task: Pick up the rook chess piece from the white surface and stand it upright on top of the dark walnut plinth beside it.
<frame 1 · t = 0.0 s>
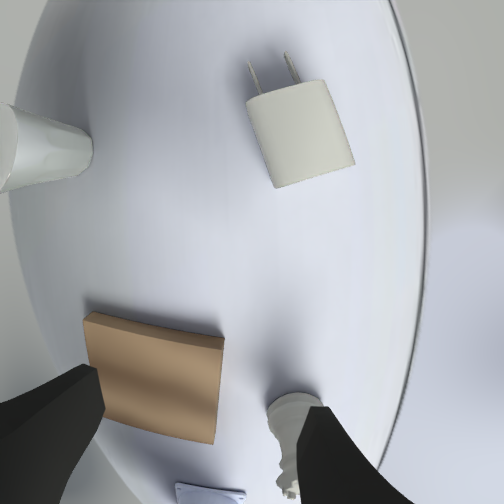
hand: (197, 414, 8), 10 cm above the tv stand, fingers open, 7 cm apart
walnut plinth: (155, 380, 20), on the tv stand
usb wall charger: (286, 121, 16), on the tv stand
rook chess piece: (294, 407, 21), on the tv stand
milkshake: (73, 156, 16), on the tv stand
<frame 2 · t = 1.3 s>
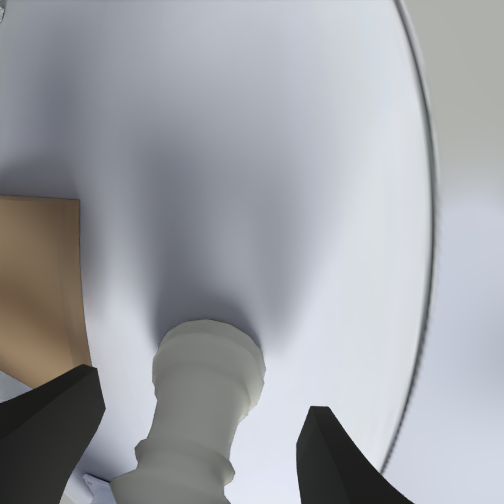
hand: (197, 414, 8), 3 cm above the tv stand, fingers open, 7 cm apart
walnut plinth: (14, 291, 11), on the tv stand
rook chess piece: (212, 358, 12), on the tv stand
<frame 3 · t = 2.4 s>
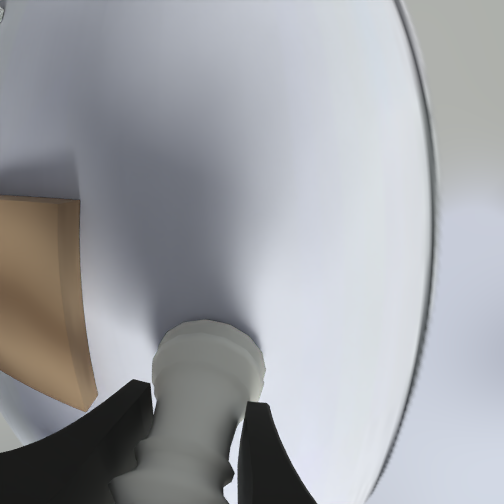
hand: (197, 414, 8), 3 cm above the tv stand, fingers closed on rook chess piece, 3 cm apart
walnut plinth: (14, 291, 11), on the tv stand
rook chess piece: (212, 358, 12), on the tv stand, touching gripper
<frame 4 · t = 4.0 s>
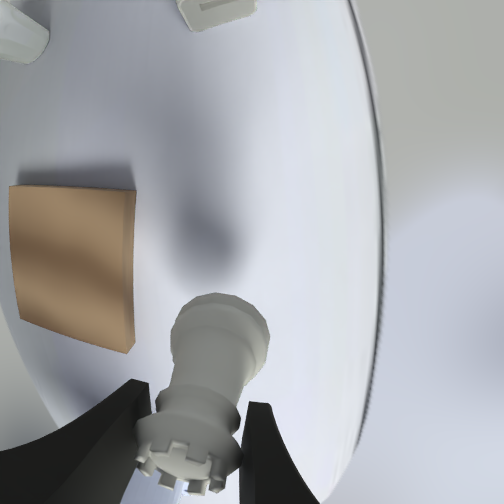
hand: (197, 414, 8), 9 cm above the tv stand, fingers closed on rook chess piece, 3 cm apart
walnut plinth: (69, 261, 17), on the tv stand
rook chess piece: (223, 329, 14), point 3 cm above the tv stand, touching gripper
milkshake: (33, 50, 13), on the tv stand
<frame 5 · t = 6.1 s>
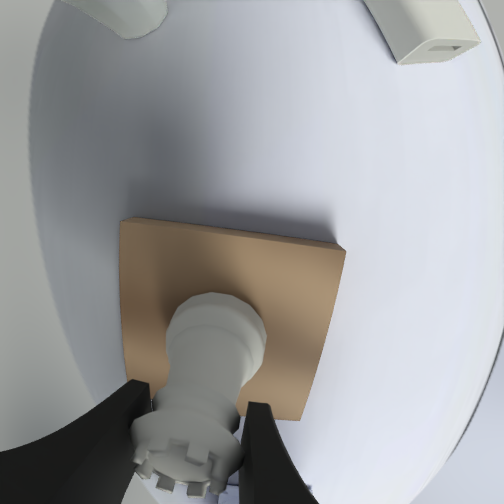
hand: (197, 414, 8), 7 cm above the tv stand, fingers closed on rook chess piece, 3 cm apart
walnut plinth: (222, 325, 15), on the tv stand
usb wall charger: (394, 14, 11), on the tv stand
rook chess piece: (219, 330, 13), point 1 cm above the tv stand, touching gripper, walnut plinth
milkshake: (135, 22, 11), on the tv stand
when the fingers open (6 cm above the tv stand, at t = 7.1 s): rook chess piece stays where it is, resting on walnut plinth.
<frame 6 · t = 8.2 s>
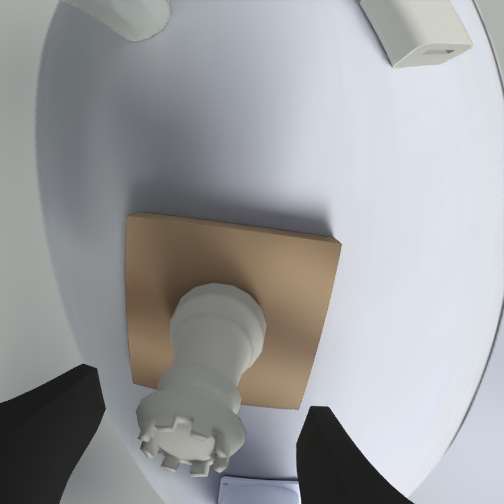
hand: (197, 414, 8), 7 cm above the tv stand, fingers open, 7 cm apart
walnut plinth: (223, 315, 15), on the tv stand
usb wall charger: (390, 18, 11), on the tv stand
rook chess piece: (220, 320, 14), point 1 cm above the tv stand, touching walnut plinth
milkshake: (140, 24, 12), on the tv stand
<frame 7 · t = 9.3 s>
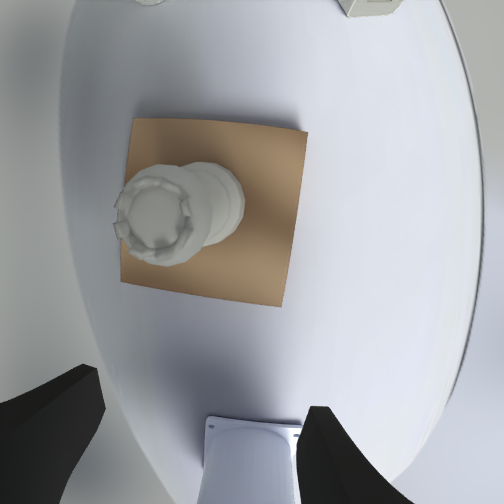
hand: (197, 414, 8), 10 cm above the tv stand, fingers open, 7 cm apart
walnut plinth: (209, 207, 17), on the tv stand
rook chess piece: (205, 202, 16), point 1 cm above the tv stand, touching walnut plinth
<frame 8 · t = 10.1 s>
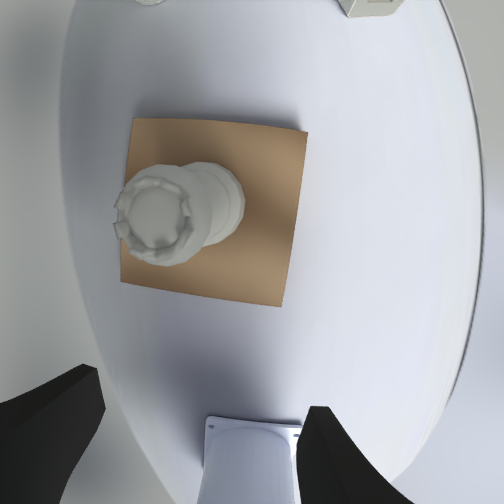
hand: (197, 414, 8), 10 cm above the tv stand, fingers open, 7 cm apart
walnut plinth: (209, 207, 17), on the tv stand
rook chess piece: (205, 202, 16), point 1 cm above the tv stand, touching walnut plinth
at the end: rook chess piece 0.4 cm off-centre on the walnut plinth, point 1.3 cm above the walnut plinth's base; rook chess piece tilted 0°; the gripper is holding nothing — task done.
